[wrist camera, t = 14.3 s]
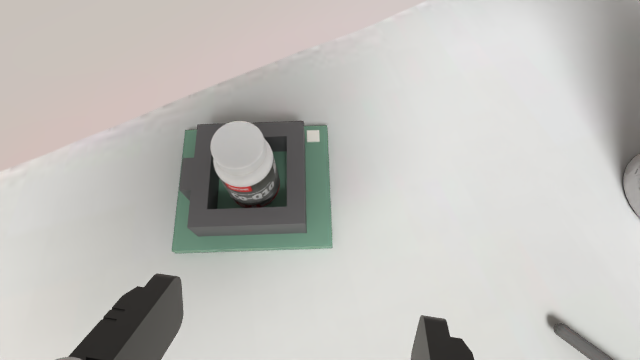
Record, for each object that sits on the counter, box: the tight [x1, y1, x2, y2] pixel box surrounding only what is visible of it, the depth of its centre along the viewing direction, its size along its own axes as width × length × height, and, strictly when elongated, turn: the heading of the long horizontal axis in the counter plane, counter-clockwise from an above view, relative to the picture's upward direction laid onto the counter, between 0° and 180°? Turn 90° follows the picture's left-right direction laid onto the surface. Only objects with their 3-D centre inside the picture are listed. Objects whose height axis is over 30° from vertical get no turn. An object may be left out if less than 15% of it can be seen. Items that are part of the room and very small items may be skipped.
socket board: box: [172, 121, 332, 253], centre depth 36 cm, size 14×12×4 cm
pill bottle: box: [210, 121, 280, 208], centre depth 33 cm, size 5×5×8 cm
